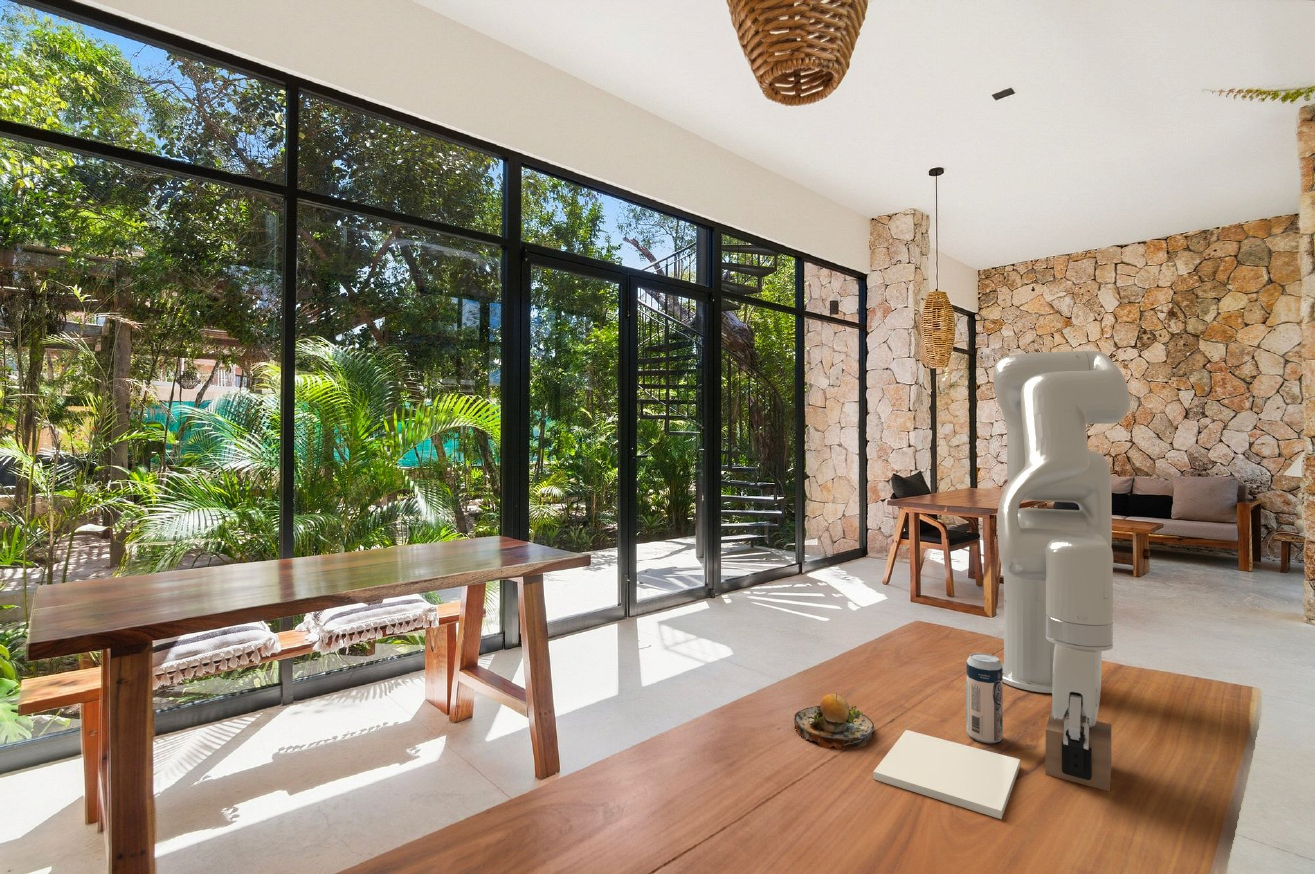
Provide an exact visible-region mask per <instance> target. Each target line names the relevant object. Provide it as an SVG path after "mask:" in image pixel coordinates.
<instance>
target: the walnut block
mask: <svg viewBox="0 0 1315 874" xmlns="http://www.w3.org/2000/svg"><path fill="white" fill-rule="evenodd" d="M1068 719H1069V715H1068ZM1081 722H1084V723H1086V719H1084V718H1081ZM1081 732H1083V733H1084V728H1081ZM1063 737H1064V716H1063V718H1062V719H1057V720H1055V719H1054V718H1053V717H1052V710H1051V711H1050V714H1049V717H1048V720H1047V723H1046V726H1045V775H1046V776H1051V777H1055V778H1059V779H1063V780H1065V781H1068V782H1069V781H1070V782H1073V783H1076V784H1080V785H1085V786H1088V787H1092V788H1096V789H1099V790H1103V791H1107V792H1110V791H1111V779H1112V723H1106V722H1102V721H1099V720H1096V724H1095V726H1093V727H1091V728H1089V748H1092V776H1091V780H1086V779H1082V778H1078V777H1074V776H1070V775H1067V774H1064V773H1063V772H1062V741H1063Z"/></svg>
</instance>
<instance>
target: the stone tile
mask: <svg viewBox="0 0 1315 874" xmlns="http://www.w3.org/2000/svg"><path fill="white" fill-rule="evenodd" d="M1020 769H1021V759H1019V758H1017V757H1012V756H1009V755H1004V754H999V753H996V752H992V751H990V750H986V749H981V748H977V747H975V746H970V745H966V744H963V743H958V742H955V741H952V740H951V741H950V740H946V739H943V738H939V737H935V736H932V735H928V734H924V733H921V732H920V733H919V732H916V731H913V730H908V729H905V731H903V733H902V734H901V735H900V737H899V738H898V739H897V741H896V742H895V743H894V744H893V746H892V747H891V748H890V750H889V751H888V752H887V753H886V755H885V756H884V757H883V759H882V760H881V761H880V763H878V765H877V766H876V768H875V769H874V770H873V778H872V779H873V780H875V781H878V782H880V783H884V784H888V785H891V786H894V787H897V788H900V789H904V790H907V791H910V792H914V793H917V794H920V795H923V796H926V797H929V798H932V799H935V800H939V801H941V802H944V803H947V804H948V803H949V804H952V805H955V806H958V807H961V808H964V809H966V810H970V811H973V812H977V813H979V814H984V815H986V816H989V817H993V818H995V819H999V820H1003V816H1004V814H1005V811H1006V808H1007V804H1008V802H1009V800H1010V797H1011V793H1012V790H1013V788H1014V785H1015V781H1016V780H1017V776H1018V773H1019V771H1020Z"/></svg>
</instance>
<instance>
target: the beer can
mask: <svg viewBox="0 0 1315 874" xmlns="http://www.w3.org/2000/svg"><path fill="white" fill-rule="evenodd" d="M1001 664H1002V662H1001V660H1000V659H999V658H998V656H995V655H992V654H991V653H990V654H989V653H982V652H976V653H975V652H973V653H971V654H969V657H968V658H967V659H966V733H967V735H968V736H969V737H971V738H972V739H973V740H974V741H977V742H980V743H984V744H996V743H999V742H1001V741H1002V740H1003V736H1004V735H1003V733H1004V732H1003V731H1004V729H1003V721H1004V720H1003V719H1004V718H1003V712H1004V710H1003V706H1004V705H1003V703H1004V702H1003V700H1004V699H1003V694H1004V693H1003V690H1004V689H1003V688H1004V686H1003V685H1004V684H1003V683H1004V682H1003V666H1002V665H1001Z"/></svg>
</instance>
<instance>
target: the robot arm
mask: <svg viewBox="0 0 1315 874" xmlns="http://www.w3.org/2000/svg"><path fill="white" fill-rule="evenodd" d="M992 377H993V378H992V379H993V389H994V393H995V397H996V400H997V402H998V406H999V407H1000V410H1001V413H1002V415H1003V418H1004V421H1005V425H1006V469H1007V470H1006V473H1007V475H1006V477H1007V486H1006V488H1005V489H1004V491H1003V493H1002V494H1001V497H1000V500H999V503H998V507H997V516H996V519H997V521H996V522H997V543H998V544H997V547H998V548H997V549H998V555H999V557H998V558H999V561H1000V562H999V563H1000V565H1001V567H1002V569H1003V663H1001V665H1002V666H1003V683H1004V684H1006V685H1008V686H1011V687H1014V688H1017V689H1021V690H1025V691H1028V692H1035V693H1043V694H1052V696H1051V711H1052V717H1053V718H1054V719H1055V720H1057V719H1062V718H1063V716H1064V737H1063V741H1062V772H1063V773H1064V774H1067V775H1070V776H1074V777H1078V778H1082V779H1086V780H1091V776H1092V748H1089V728H1091V727H1093V726H1095V724H1096V721H1097V719H1098V714H1099V708H1100V702H1101V701H1100V699H1101V692H1102V691H1101V689H1102V661H1103V660H1102V658H1103V657H1102V655H1103V654H1102V653H1103V652H1106V651H1111V650H1112V649H1113V646H1114V643H1113V642H1114V641H1113V640H1114V627H1113V626H1114V624H1113V623H1114V621H1113V620H1114V618H1113V617H1114V615H1113V613H1114V610H1113V609H1114V604H1113V603H1114V601H1113V600H1114V598H1113V597H1114V595H1113V594H1114V592H1113V591H1114V587H1113V584H1114V582H1113V581H1114V580H1113V579H1114V578H1113V573H1114V571H1113V569H1114V553H1113V548H1112V543H1113V542H1112V541H1113V539H1112V538H1113V530H1112V529H1113V528H1112V527H1113V526H1112V524H1113V520H1112V519H1113V515H1112V514H1113V513H1112V511H1113V510H1112V503H1113V502H1112V492H1113V491H1112V475H1111V470H1110V466H1109V464H1108V460H1107V458H1105V456H1104V455H1103V454H1102V453H1100V452H1098V451H1096V450H1091V449H1089V442H1088V435H1087V425H1091V424H1092V425H1093V424H1096V425H1097V424H1098V425H1099V424H1109V425H1110V424H1116V423H1117V424H1118V423H1120V422H1121V421H1123V420H1124V419H1125V418H1126V416H1127V415H1128V413H1129V409H1130V401H1131V400H1130V399H1131V397H1130V392H1129V387H1128V383H1127V379H1126V378H1125V377H1124V375H1123V373H1122V371H1121V370H1120V369H1119V367H1118V366H1117V365H1116V364H1115V362H1114V361H1113V360H1112V359H1111V358H1110V356H1108V355H1107V354H1106V353H1105V352H1102V351H1099V350H1098V351H1096V350H1077V351H1076V350H1071V351H1051V352H1050V351H1043V352H1042V351H1041V352H1027V353H1018V354H1012V355H1008V356H1004V357H1002V358H1000V359H999V360H998V361H997V362H996V364H995V366H994V368H993V373H992ZM1023 500H1024V501H1032V502H1051V503H1052V502H1054V503H1056V502H1057V503H1074V504H1077V505H1078V508H1079V509H1055V508H1036V507H1035V508H1034V507H1026V508H1025V507H1024V508H1023V507H1022V508H1020V506H1021V503H1022V502H1023ZM1068 715H1069V719H1068ZM1081 718H1084V719H1086V723H1084V722H1081ZM1081 728H1084V733H1083V732H1081Z"/></svg>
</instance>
